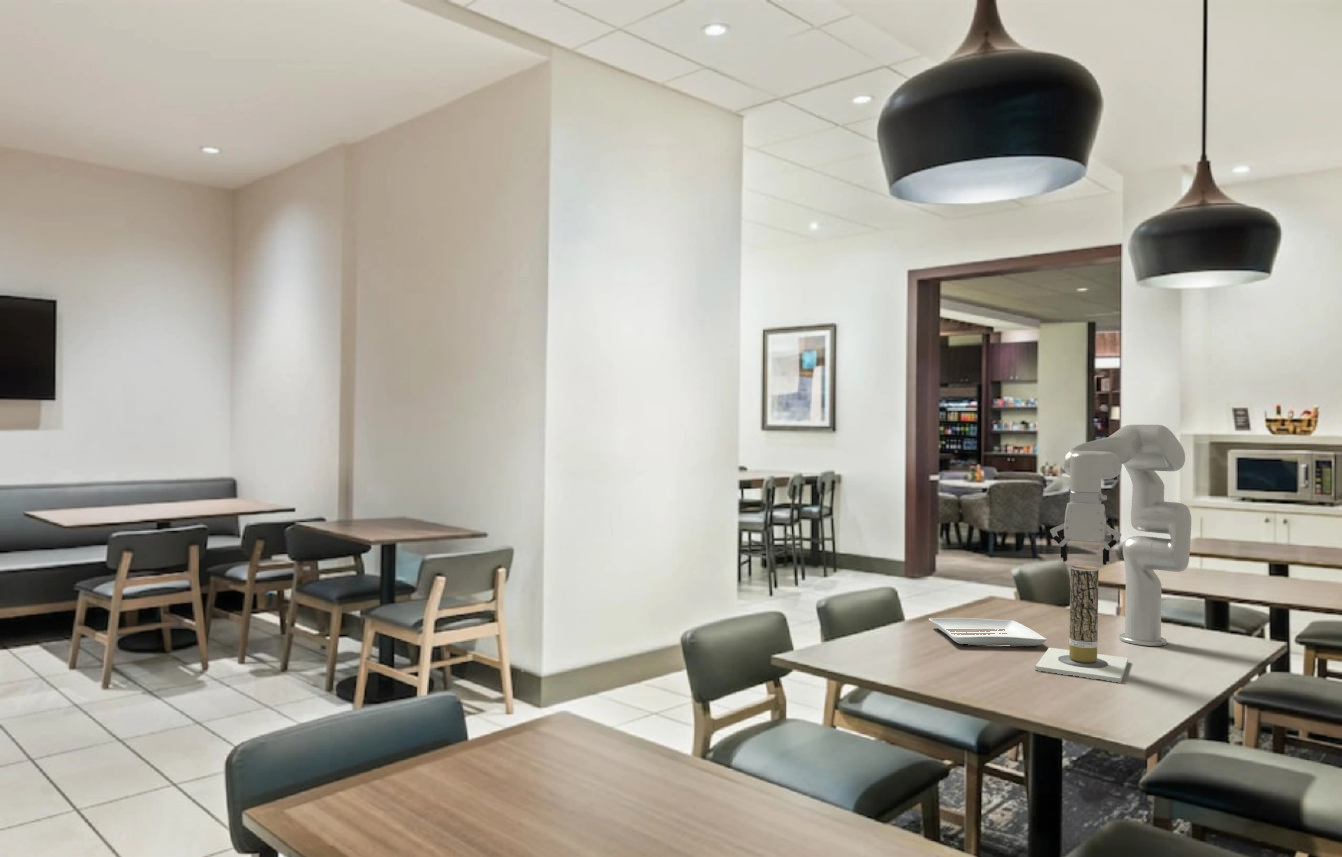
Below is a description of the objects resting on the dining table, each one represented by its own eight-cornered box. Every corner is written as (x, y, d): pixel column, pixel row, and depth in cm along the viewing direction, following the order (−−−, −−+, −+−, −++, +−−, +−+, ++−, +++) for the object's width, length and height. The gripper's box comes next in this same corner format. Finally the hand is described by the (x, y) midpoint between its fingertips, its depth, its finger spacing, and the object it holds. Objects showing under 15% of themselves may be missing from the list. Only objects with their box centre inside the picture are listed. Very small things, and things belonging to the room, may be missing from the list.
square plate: (1048, 651, 253) (1048, 638, 253) (952, 649, 253) (953, 636, 253) (1013, 630, 280) (1014, 618, 280) (927, 628, 281) (927, 616, 281)
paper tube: (1100, 664, 232) (1101, 569, 232) (1072, 663, 233) (1074, 568, 233) (1093, 658, 238) (1094, 565, 238) (1066, 656, 240) (1067, 564, 240)
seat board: (1049, 651, 251) (1049, 646, 251) (1127, 662, 241) (1128, 656, 241) (1035, 670, 230) (1035, 665, 230) (1120, 683, 220) (1121, 677, 220)
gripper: (1122, 499, 234) (1122, 563, 234) (1052, 496, 243) (1051, 558, 243) (1120, 501, 228) (1119, 567, 228) (1048, 498, 237) (1047, 561, 237)
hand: (1084, 562), depth 236 cm, fingers open, 9 cm apart
